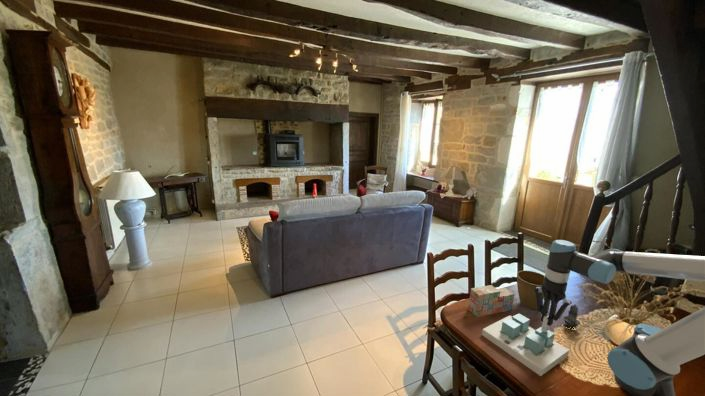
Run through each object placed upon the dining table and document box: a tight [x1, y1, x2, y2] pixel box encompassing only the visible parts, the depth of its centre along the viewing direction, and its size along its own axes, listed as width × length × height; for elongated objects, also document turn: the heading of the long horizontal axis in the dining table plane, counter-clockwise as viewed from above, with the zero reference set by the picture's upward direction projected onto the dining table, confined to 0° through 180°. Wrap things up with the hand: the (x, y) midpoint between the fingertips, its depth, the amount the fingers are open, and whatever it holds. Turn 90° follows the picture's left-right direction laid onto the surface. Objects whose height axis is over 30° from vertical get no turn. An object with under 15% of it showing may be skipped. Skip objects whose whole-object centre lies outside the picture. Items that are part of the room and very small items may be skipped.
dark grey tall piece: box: [562, 304, 580, 329], centre depth 132 cm, size 6×6×12 cm
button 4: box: [534, 326, 556, 348], centre depth 119 cm, size 5×5×5 cm
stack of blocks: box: [467, 284, 515, 318], centre depth 144 cm, size 21×6×12 cm, turn 106°
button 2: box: [512, 313, 531, 333], centre depth 127 cm, size 5×5×5 cm
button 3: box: [524, 332, 546, 355], centre depth 116 cm, size 5×5×5 cm
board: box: [481, 315, 570, 377], centre depth 122 cm, size 25×20×3 cm
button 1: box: [501, 318, 521, 338], centre depth 124 cm, size 5×5×5 cm
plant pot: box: [516, 270, 545, 310], centre depth 148 cm, size 15×15×16 cm
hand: (544, 330), depth 119 cm, fingers closed
